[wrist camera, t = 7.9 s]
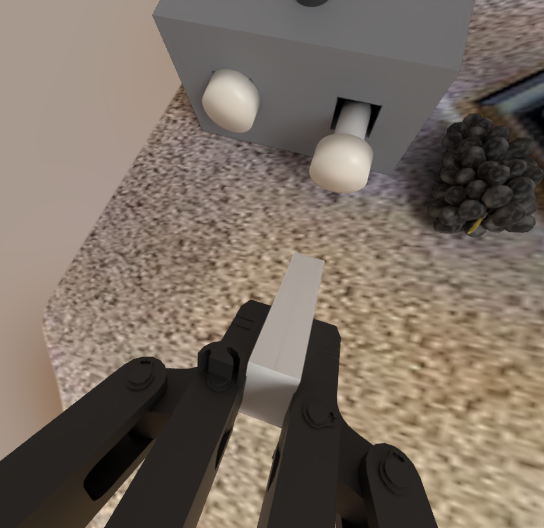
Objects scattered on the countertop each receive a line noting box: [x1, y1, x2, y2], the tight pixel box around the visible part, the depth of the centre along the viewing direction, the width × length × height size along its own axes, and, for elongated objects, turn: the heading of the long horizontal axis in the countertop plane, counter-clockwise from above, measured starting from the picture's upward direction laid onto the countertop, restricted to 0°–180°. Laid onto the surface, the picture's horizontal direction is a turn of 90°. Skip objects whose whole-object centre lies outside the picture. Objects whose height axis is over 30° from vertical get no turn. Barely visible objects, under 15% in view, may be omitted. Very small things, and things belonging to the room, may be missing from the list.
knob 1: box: [202, 68, 260, 133], centre depth 27 cm, size 5×7×5 cm
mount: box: [152, 0, 474, 175], centre depth 27 cm, size 24×8×13 cm, turn 73°
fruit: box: [427, 114, 544, 237], centre depth 26 cm, size 9×8×15 cm
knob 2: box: [309, 99, 373, 193], centre depth 24 cm, size 5×7×5 cm
